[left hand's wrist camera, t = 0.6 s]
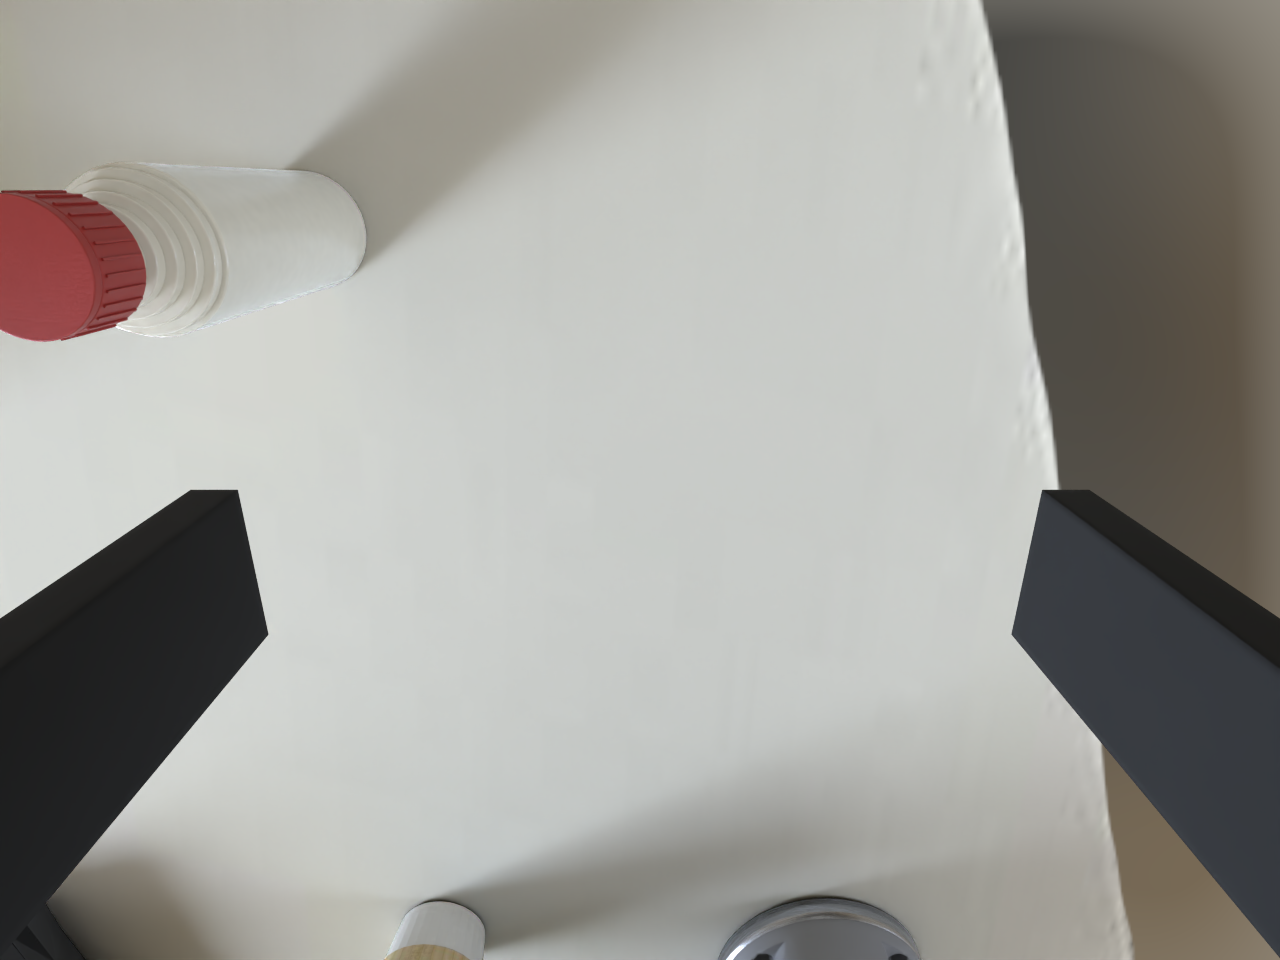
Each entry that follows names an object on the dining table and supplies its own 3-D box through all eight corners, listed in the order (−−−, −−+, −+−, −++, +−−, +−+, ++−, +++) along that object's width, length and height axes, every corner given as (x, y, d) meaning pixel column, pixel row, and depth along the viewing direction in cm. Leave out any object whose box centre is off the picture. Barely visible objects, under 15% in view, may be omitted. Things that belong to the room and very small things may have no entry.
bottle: (314, 310, 39) (57, 408, 22) (230, 222, 37) (-119, 252, 20) (390, 239, 37) (180, 284, 20) (306, 145, 36) (2, 106, 19)
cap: (95, 355, 23) (40, 372, 21) (-17, 251, 22) (-88, 258, 20) (176, 272, 22) (127, 281, 20) (63, 159, 21) (-1, 156, 19)
